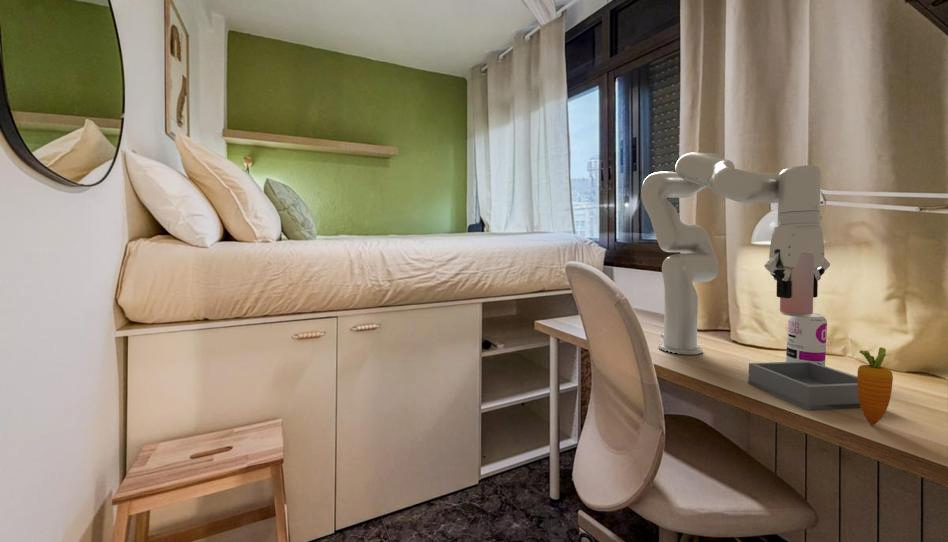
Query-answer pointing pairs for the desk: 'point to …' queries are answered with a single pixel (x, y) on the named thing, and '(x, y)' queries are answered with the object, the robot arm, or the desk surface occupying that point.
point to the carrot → (874, 387)
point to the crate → (806, 384)
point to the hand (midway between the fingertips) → (796, 296)
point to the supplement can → (806, 339)
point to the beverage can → (800, 288)
